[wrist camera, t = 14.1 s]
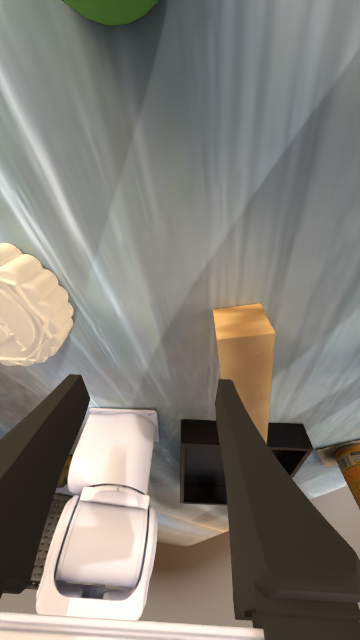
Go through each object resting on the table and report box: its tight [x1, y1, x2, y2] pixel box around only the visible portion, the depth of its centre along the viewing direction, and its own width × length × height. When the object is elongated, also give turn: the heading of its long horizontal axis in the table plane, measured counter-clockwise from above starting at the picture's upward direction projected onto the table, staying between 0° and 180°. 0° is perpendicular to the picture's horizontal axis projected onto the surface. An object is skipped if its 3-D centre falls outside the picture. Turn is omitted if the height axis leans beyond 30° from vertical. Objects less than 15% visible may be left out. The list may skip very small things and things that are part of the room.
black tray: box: [180, 420, 313, 506], centre depth 37 cm, size 17×23×3 cm
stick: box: [213, 303, 275, 444], centre depth 24 cm, size 4×18×4 cm, turn 10°
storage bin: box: [26, 494, 105, 590], centre depth 52 cm, size 29×19×13 cm
